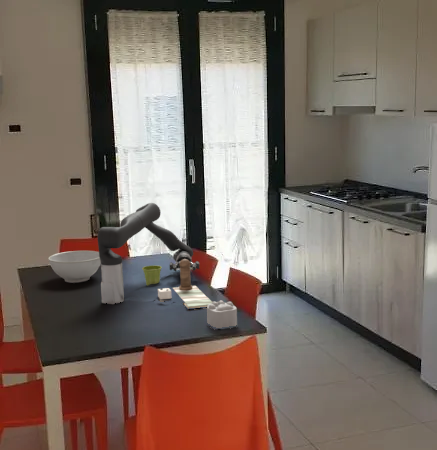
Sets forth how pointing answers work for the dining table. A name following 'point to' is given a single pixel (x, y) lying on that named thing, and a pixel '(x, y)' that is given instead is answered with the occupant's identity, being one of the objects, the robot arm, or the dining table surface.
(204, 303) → the game board
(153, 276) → the plant pot
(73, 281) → the decorative bowl
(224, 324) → the lumpy-topped squat cylinder
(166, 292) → the die
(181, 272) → the pawn
